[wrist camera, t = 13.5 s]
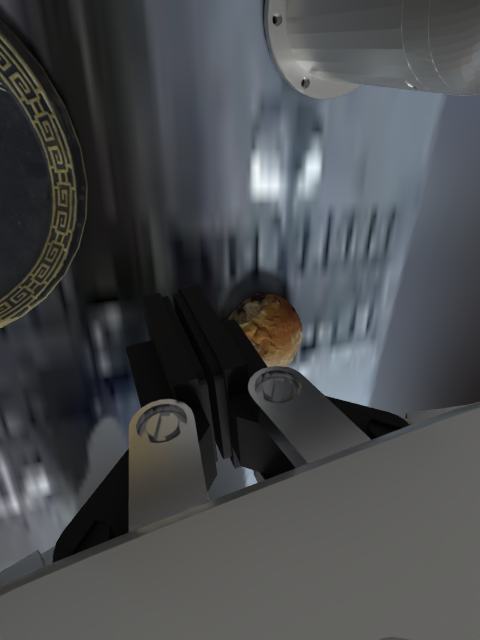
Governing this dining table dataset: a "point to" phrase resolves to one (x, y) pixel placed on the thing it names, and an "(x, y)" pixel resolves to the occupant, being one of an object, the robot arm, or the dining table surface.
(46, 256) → the decorative plate
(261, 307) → the bread roll
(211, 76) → the dining table surface
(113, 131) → the dining table surface
